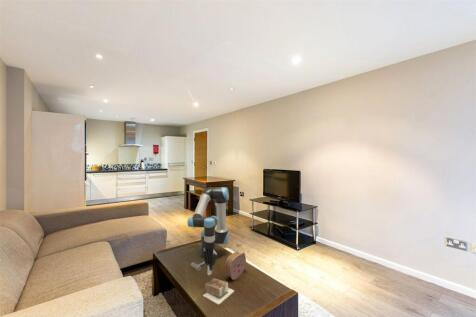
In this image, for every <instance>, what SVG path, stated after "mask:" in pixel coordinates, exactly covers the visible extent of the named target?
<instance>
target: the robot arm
mask: <svg viewBox="0 0 476 317" xmlns="http://www.w3.org/2000/svg"><path fill="white" fill-rule="evenodd" d="M229 200H230V194H229V189H228V188H227V187H224V186H222V187H221V186H220V187H216V186H215V187H213V186H211V187H207V188H206V189H204V190H202V192H201V193H200V194H199V201H198V203H197V206H196V208H195V210H194V213H193V215H192V216H189V217H188V218H187V226H188V227H189V228H201V229H202V228H203V230H201V232H200V233H201V234H200V241H201V242H200V243H201V246H200V249H199V254H198V255H199V256H200V257H201V258H203V262H205V264H206V270H207V276H210V275H213V274H212V273H213V266H215V264H216V260H217V259H216V255H218V252H217V251H216V249H215V246H216V245H226V244H228V242H229V238H230V230H229V229H228V228H227V213H226V212H227V210H226V209H227V205H226V204H227V203H228V201H229ZM210 201H214V203H215V204H216V216H215V215H211V216H205V212H206V209H207V207H208V203H209V202H210Z"/></svg>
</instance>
